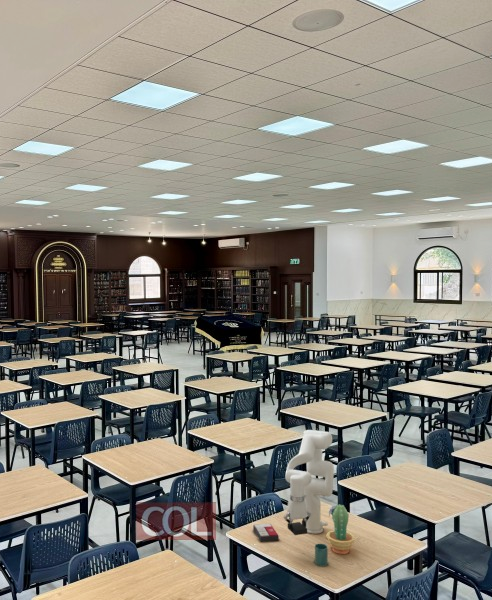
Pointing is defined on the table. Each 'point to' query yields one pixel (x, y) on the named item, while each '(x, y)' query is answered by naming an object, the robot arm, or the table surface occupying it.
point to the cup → (321, 554)
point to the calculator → (265, 532)
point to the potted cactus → (340, 530)
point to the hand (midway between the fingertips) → (297, 529)
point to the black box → (298, 529)
